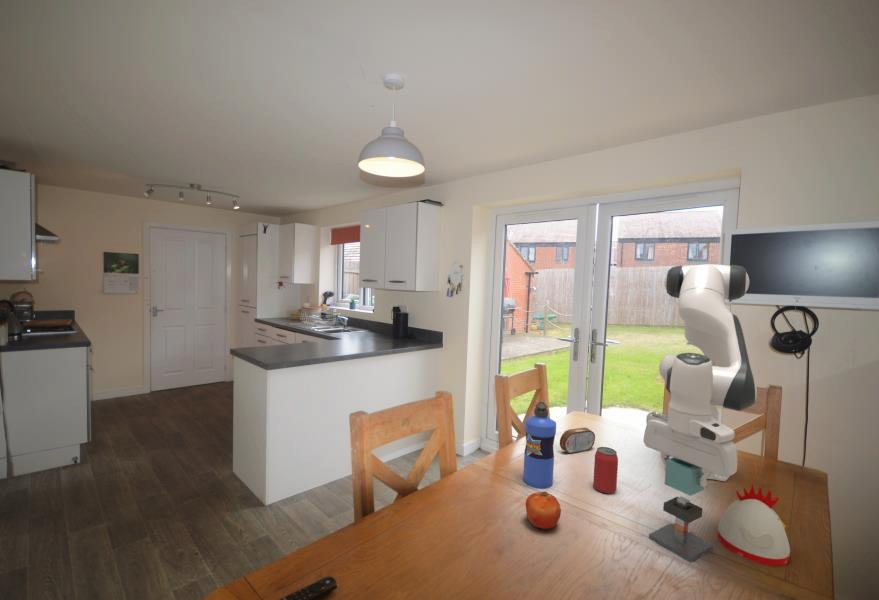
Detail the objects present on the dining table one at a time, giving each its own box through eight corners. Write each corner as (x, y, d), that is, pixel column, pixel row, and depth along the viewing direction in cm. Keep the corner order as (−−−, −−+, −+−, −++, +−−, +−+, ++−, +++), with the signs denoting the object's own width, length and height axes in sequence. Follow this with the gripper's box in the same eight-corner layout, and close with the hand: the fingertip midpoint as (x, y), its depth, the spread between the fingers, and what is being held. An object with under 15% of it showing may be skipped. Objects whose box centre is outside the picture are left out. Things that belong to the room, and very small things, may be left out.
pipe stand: (671, 526, 107) (674, 485, 106) (713, 548, 98) (716, 504, 98) (648, 538, 101) (651, 494, 101) (690, 562, 93) (694, 515, 92)
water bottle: (541, 492, 122) (545, 409, 121) (516, 479, 129) (520, 401, 128) (559, 482, 128) (563, 403, 127) (534, 471, 135) (537, 396, 134)
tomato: (541, 538, 100) (542, 506, 100) (517, 518, 108) (518, 488, 108) (569, 528, 104) (570, 498, 104) (544, 510, 112) (545, 481, 112)
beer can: (618, 496, 121) (620, 456, 121) (594, 492, 123) (597, 453, 122) (613, 485, 128) (615, 447, 127) (591, 482, 129) (593, 445, 128)
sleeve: (664, 484, 100) (666, 460, 100) (678, 479, 103) (679, 455, 103) (690, 495, 95) (692, 470, 95) (703, 489, 98) (705, 465, 98)
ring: (676, 504, 104) (677, 496, 103) (702, 516, 98) (702, 508, 98) (663, 510, 100) (663, 502, 100) (688, 523, 95) (689, 515, 95)
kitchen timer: (794, 574, 90) (800, 508, 90) (719, 550, 98) (723, 489, 97) (783, 541, 102) (788, 482, 101) (716, 522, 109) (720, 467, 109)
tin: (589, 447, 157) (590, 425, 157) (596, 450, 154) (597, 428, 154) (558, 452, 151) (559, 430, 150) (564, 456, 148) (565, 433, 148)
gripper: (640, 411, 105) (636, 463, 106) (729, 438, 88) (724, 501, 89) (654, 407, 109) (651, 459, 109) (743, 434, 91) (738, 494, 92)
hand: (684, 478), depth 99 cm, fingers closed on sleeve, 6 cm apart
